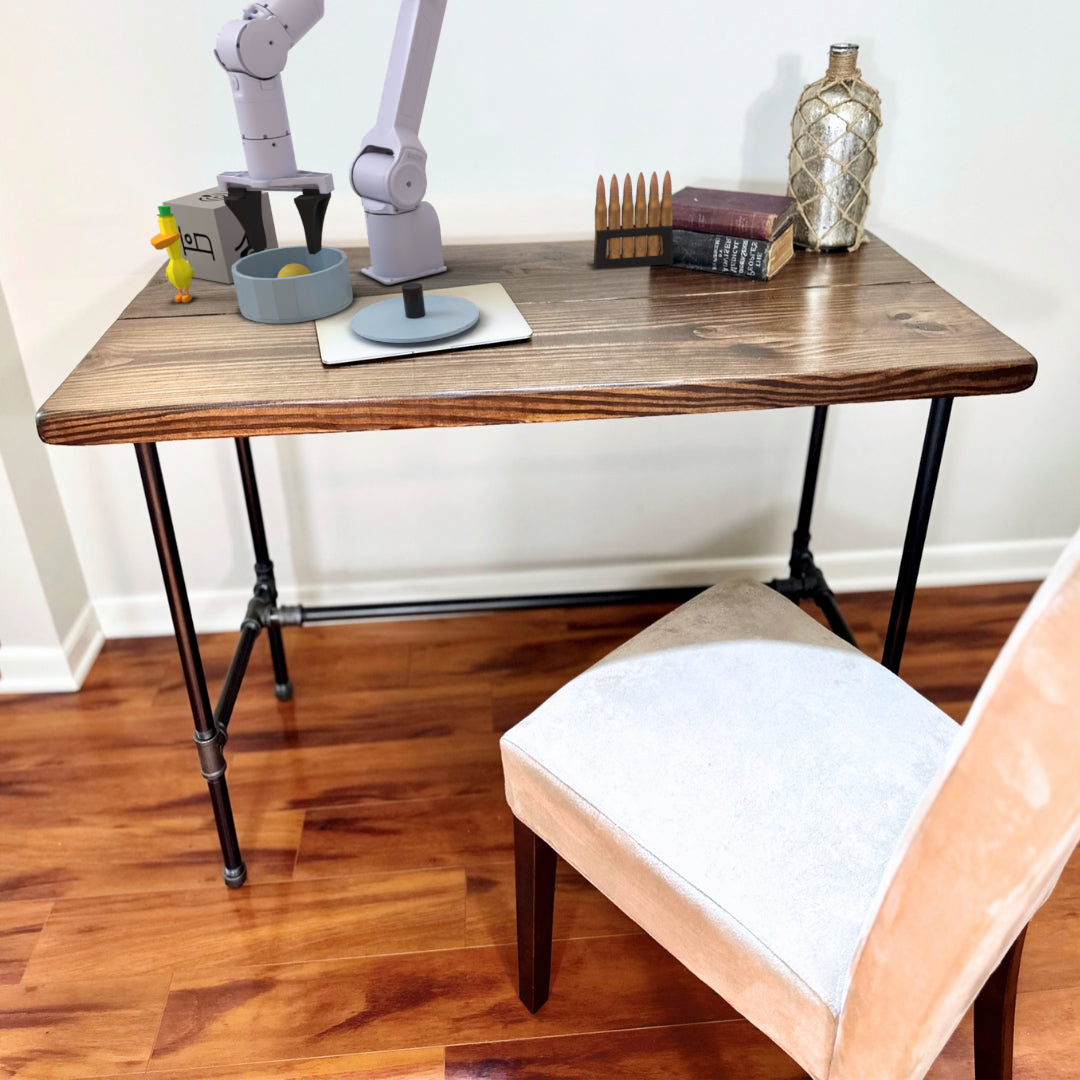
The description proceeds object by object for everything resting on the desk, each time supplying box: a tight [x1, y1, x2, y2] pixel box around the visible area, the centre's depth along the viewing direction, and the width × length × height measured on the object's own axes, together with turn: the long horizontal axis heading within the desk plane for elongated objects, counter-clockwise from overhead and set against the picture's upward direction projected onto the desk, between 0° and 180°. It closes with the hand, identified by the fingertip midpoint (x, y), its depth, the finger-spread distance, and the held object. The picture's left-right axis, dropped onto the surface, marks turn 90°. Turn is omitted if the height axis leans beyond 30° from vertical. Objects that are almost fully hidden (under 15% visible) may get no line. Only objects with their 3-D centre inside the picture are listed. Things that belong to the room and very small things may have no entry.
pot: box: [232, 244, 354, 324], centre depth 123 cm, size 14×14×6 cm
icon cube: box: [162, 185, 280, 285], centre depth 136 cm, size 10×10×10 cm
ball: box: [277, 263, 312, 278], centre depth 123 cm, size 5×5×5 cm
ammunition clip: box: [593, 169, 674, 270], centre depth 129 cm, size 11×2×12 cm, turn 95°
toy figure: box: [150, 205, 194, 304], centre depth 125 cm, size 7×4×12 cm, turn 170°
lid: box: [351, 282, 480, 344], centre depth 115 cm, size 15×15×5 cm
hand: (287, 251), depth 121 cm, fingers open, 7 cm apart
